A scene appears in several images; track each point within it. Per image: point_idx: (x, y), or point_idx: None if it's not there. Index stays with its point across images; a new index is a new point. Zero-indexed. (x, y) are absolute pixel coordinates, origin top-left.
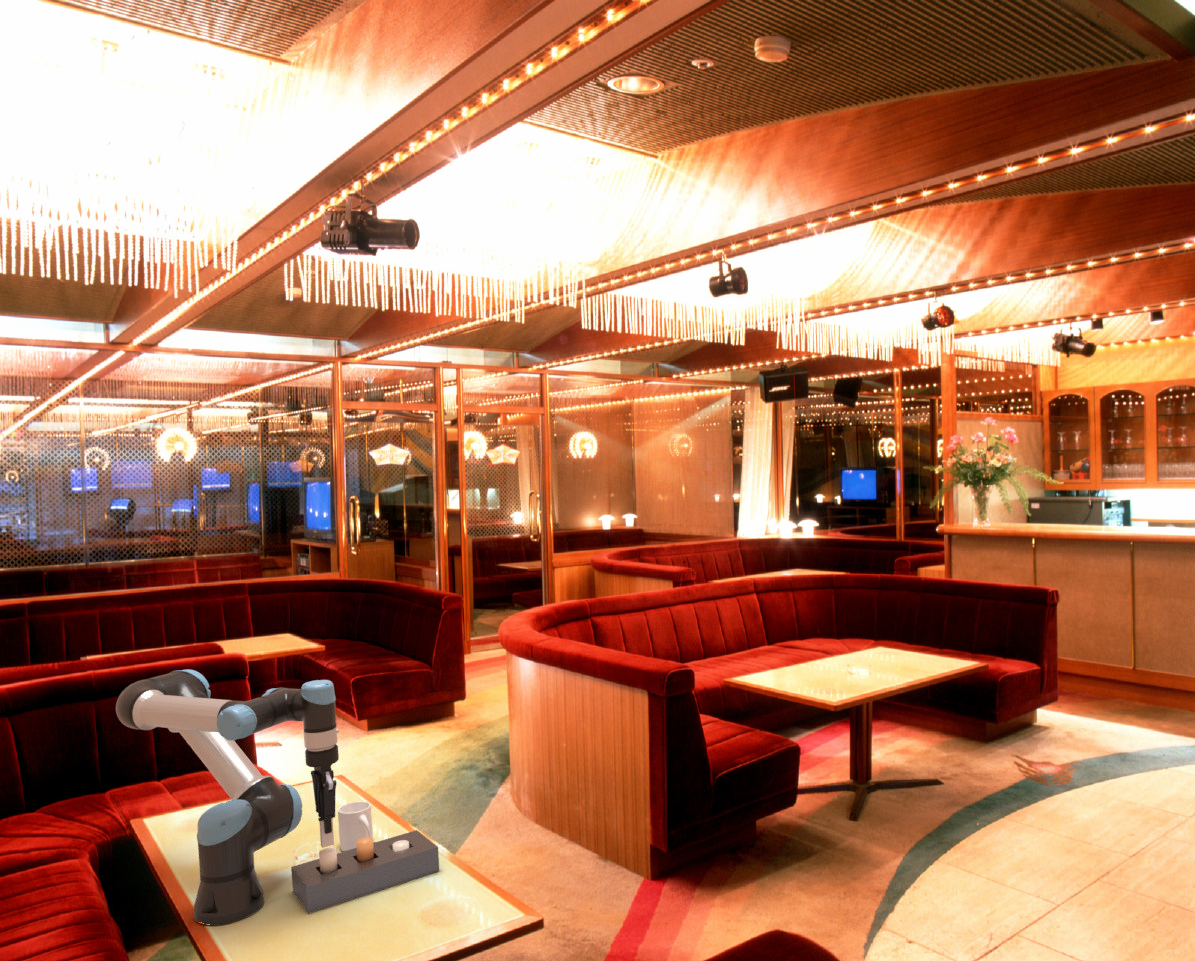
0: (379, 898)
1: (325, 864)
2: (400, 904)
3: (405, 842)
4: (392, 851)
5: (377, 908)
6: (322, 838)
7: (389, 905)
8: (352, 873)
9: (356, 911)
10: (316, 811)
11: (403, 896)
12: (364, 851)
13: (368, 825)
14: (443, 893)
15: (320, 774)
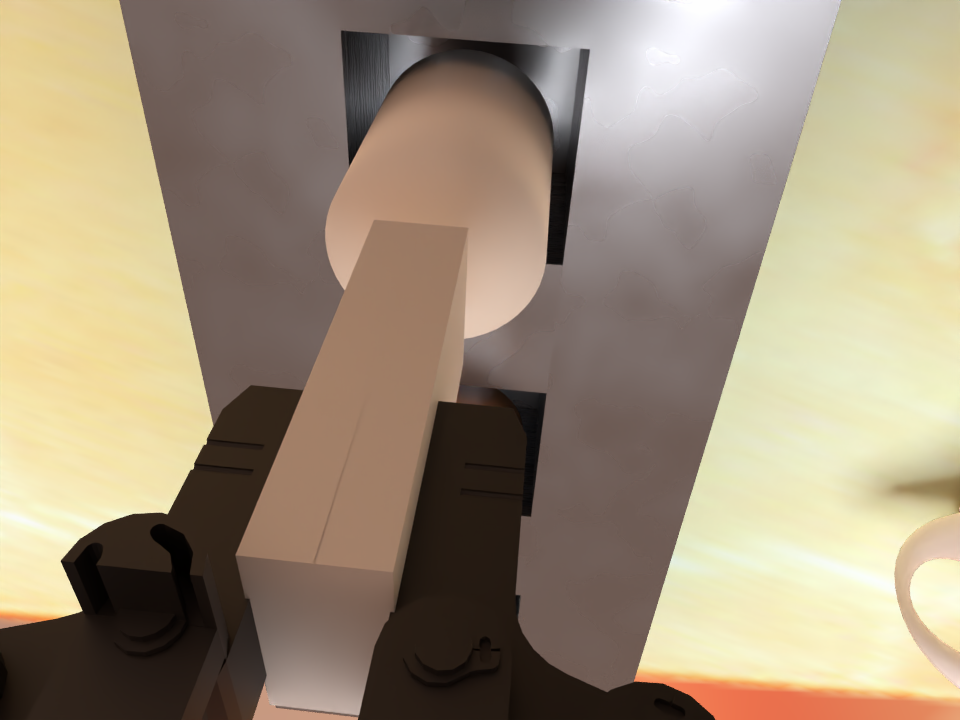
0: (164, 282)
1: (370, 131)
2: (17, 330)
3: None
4: None
5: (22, 219)
6: (343, 301)
7: (32, 285)
8: (179, 265)
9: (40, 99)
10: (654, 707)
11: (115, 379)
12: None
13: (938, 669)
14: (49, 503)
15: None
